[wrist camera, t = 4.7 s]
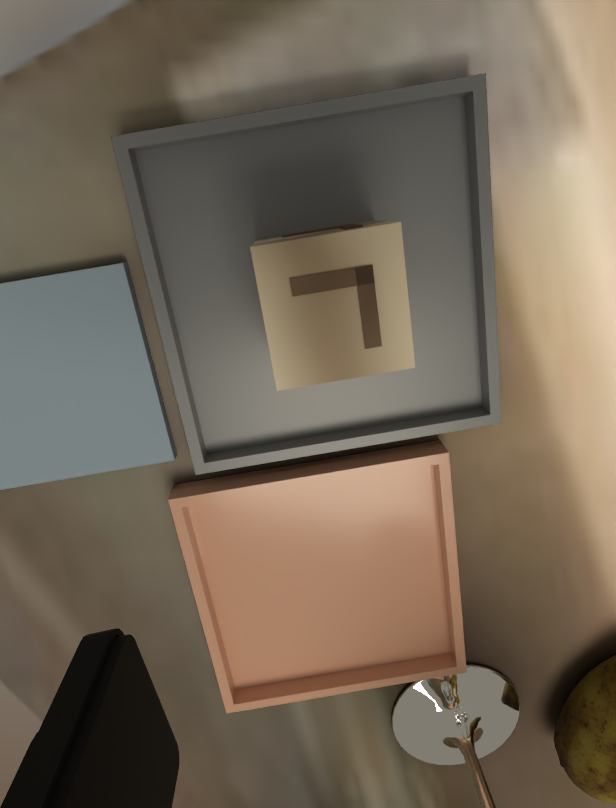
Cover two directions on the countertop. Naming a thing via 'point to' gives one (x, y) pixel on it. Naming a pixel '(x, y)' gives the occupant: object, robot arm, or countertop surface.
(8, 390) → the mat
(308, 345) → the letter cube
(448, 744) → the wineglass
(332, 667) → the terracotta tray
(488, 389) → the charcoal tray
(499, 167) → the countertop surface
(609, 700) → the potato
